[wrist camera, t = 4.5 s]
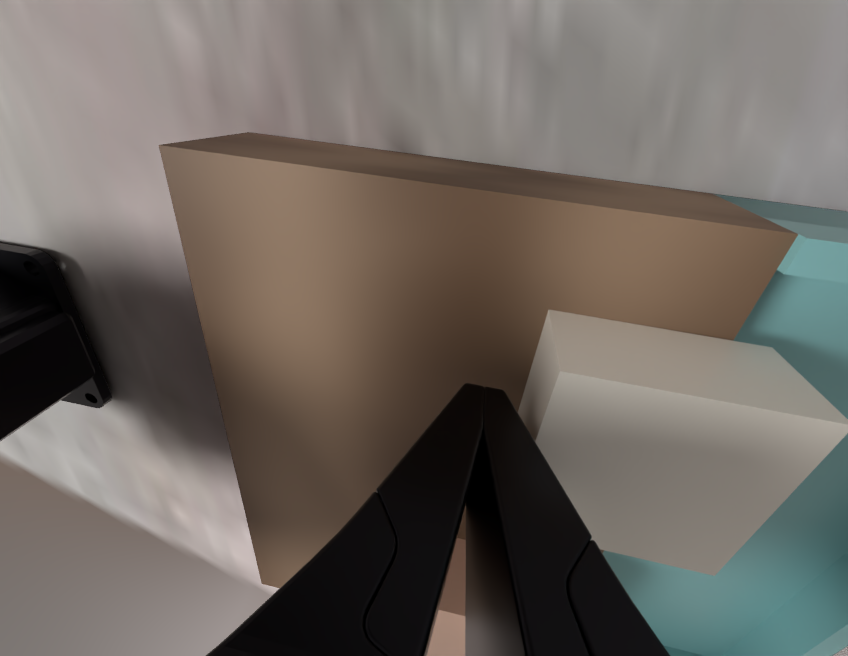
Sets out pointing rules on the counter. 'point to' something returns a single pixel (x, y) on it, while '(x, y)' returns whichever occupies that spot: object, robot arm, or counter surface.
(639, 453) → the cream tile
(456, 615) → the terracotta block
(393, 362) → the walnut plate
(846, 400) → the tray
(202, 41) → the counter surface
